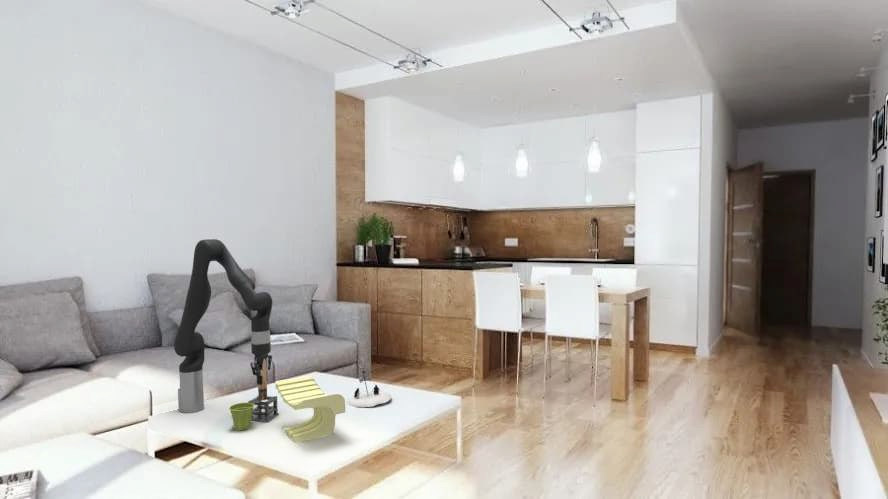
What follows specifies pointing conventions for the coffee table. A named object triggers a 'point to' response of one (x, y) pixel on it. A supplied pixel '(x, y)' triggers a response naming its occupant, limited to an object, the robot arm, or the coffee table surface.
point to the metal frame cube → (269, 410)
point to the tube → (263, 385)
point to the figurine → (368, 395)
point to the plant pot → (241, 415)
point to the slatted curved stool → (310, 396)
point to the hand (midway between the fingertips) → (262, 382)
